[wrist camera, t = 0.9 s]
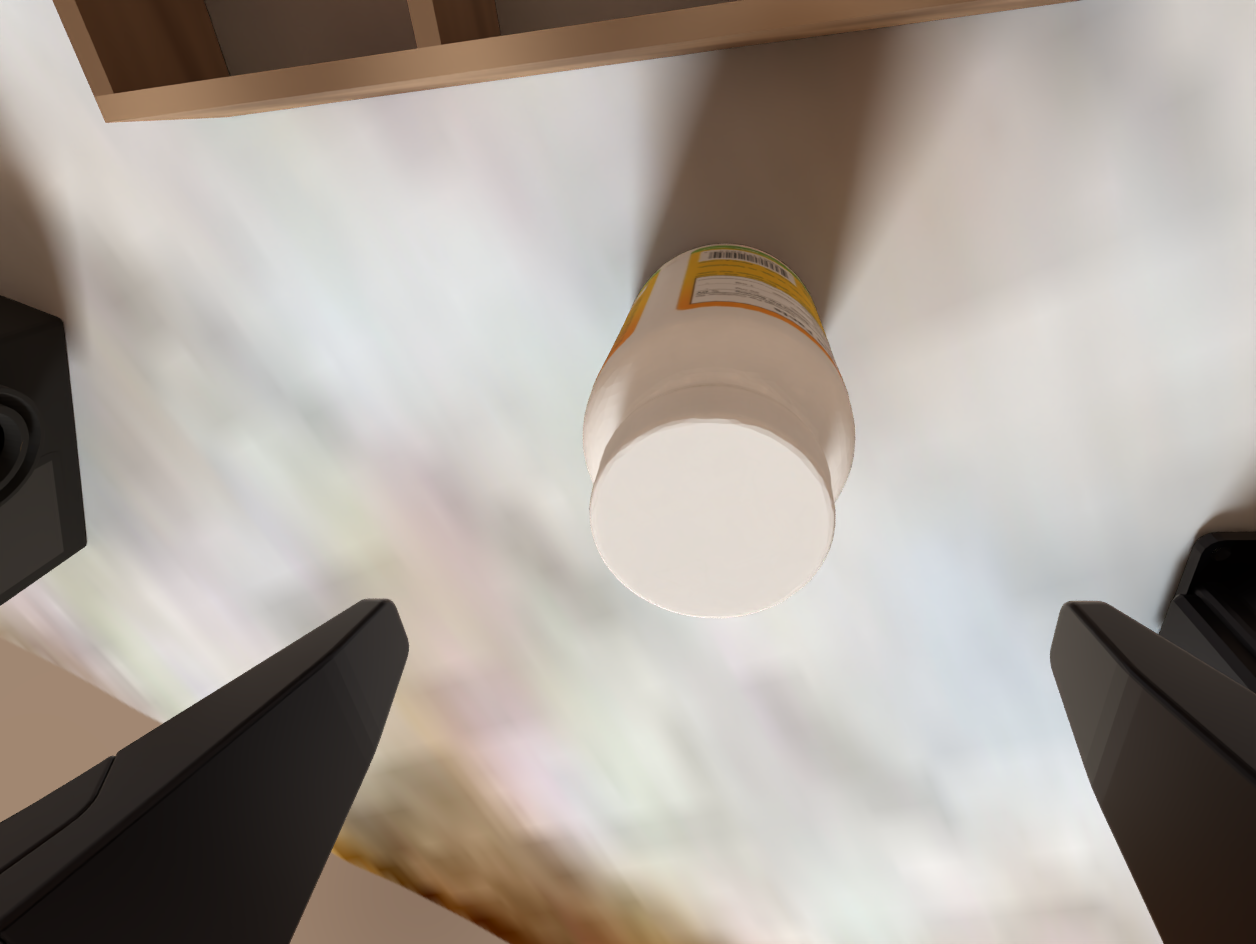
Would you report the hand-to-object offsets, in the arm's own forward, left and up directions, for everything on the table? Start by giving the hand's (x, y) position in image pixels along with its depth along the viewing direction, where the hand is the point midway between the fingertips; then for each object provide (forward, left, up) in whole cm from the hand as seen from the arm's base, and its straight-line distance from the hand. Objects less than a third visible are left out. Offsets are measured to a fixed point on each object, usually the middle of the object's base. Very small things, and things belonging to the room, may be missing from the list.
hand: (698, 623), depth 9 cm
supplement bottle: (0, 0, -12) cm, 12 cm away
